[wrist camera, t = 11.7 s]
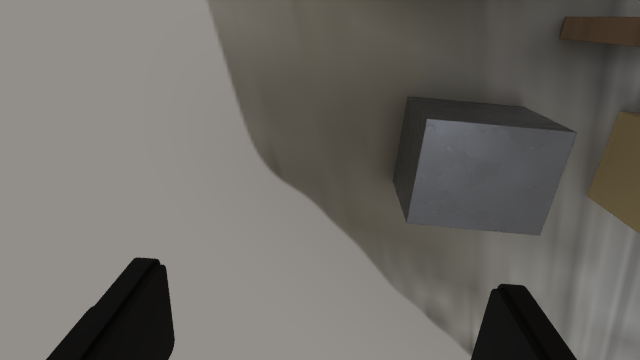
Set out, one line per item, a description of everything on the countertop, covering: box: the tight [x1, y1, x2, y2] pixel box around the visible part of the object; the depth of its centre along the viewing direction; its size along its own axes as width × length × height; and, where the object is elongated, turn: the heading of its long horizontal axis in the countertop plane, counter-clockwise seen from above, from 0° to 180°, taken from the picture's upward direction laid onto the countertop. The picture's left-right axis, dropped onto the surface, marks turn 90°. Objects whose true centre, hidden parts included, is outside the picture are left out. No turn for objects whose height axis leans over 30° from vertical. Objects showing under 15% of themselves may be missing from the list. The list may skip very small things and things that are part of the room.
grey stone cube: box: [393, 97, 577, 235], centre depth 23 cm, size 8×6×6 cm
